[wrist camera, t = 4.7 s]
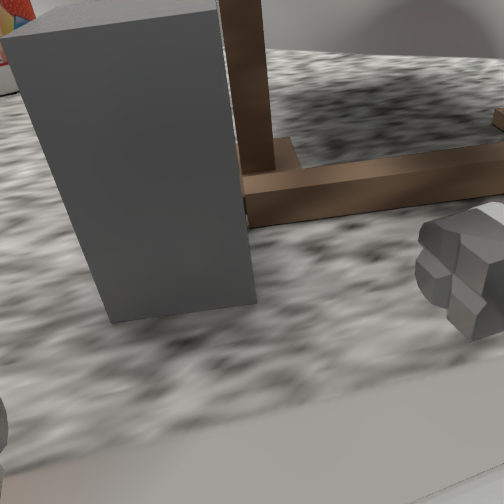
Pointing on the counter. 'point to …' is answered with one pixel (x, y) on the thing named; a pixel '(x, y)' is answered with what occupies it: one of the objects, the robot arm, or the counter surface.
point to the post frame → (339, 175)
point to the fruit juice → (3, 22)
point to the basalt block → (141, 149)
